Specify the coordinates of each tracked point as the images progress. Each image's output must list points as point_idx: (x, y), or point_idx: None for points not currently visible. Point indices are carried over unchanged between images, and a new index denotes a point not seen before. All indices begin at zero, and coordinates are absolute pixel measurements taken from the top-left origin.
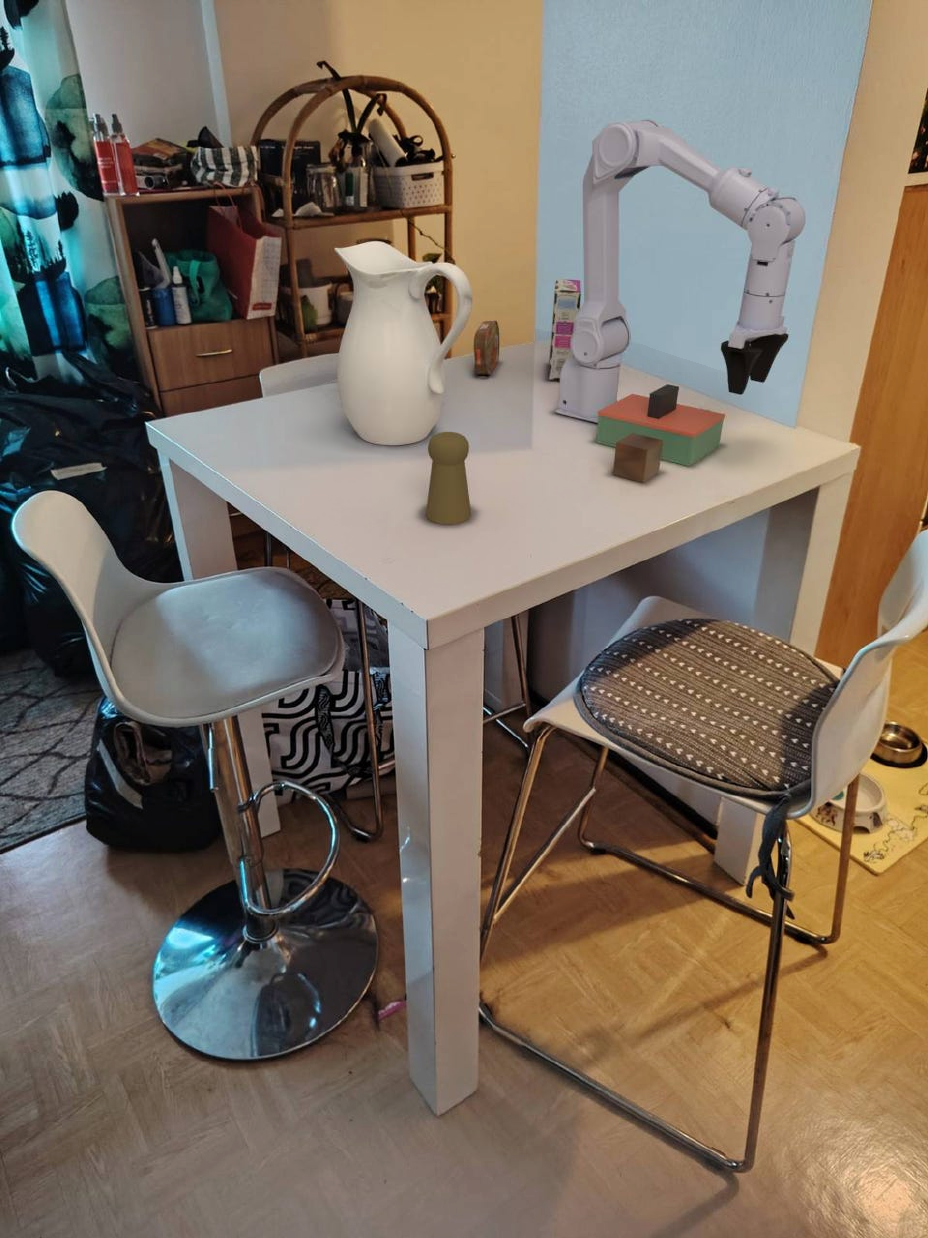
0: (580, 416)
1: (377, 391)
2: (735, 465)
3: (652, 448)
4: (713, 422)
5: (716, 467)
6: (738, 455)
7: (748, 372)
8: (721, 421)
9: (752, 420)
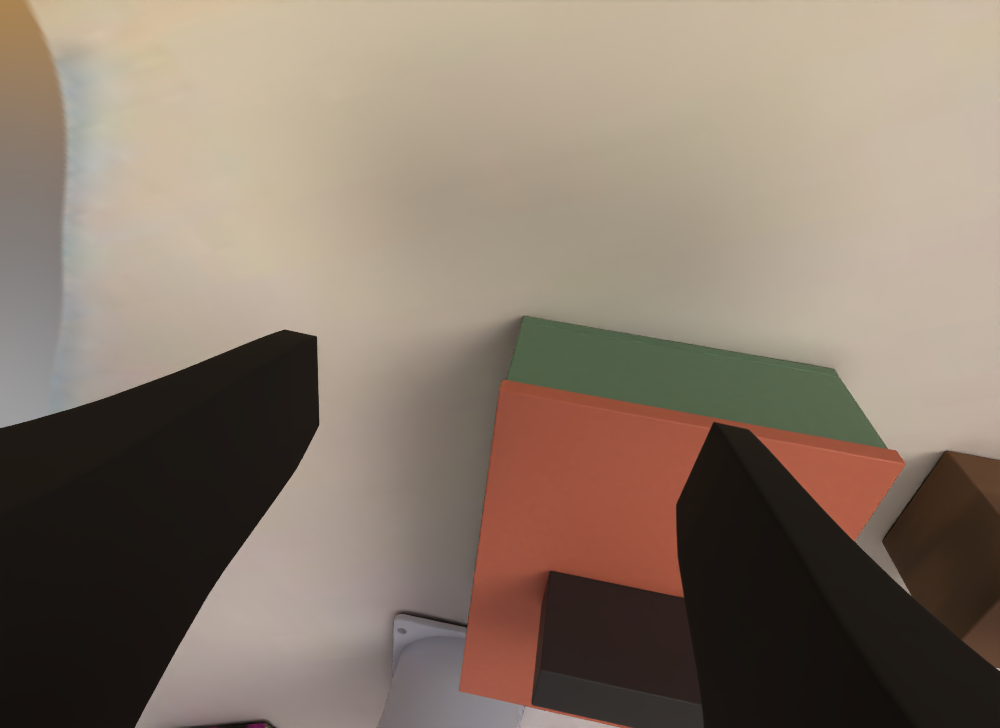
0: None
1: None
2: (745, 196)
3: None
4: (657, 417)
5: (804, 268)
6: (601, 214)
7: (895, 589)
8: (535, 381)
9: (146, 259)
